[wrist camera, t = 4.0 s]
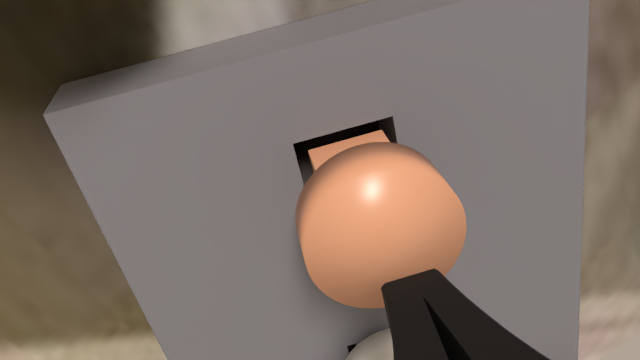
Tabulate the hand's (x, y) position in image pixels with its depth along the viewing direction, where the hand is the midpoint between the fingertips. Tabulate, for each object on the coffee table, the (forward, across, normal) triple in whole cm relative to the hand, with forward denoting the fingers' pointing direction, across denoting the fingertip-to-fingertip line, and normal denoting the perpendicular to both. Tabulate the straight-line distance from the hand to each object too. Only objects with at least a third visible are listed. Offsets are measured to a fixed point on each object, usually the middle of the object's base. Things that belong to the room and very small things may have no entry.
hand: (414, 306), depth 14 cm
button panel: (+8, 0, +4) cm, 9 cm away
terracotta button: (+6, 0, -1) cm, 6 cm away
